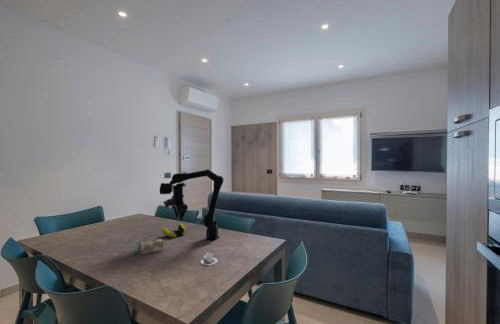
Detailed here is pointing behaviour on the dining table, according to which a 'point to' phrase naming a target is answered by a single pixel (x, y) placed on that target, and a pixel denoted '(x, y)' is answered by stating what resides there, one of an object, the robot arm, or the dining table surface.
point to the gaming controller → (175, 233)
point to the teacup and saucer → (208, 259)
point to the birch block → (149, 246)
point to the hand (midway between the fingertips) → (178, 219)
